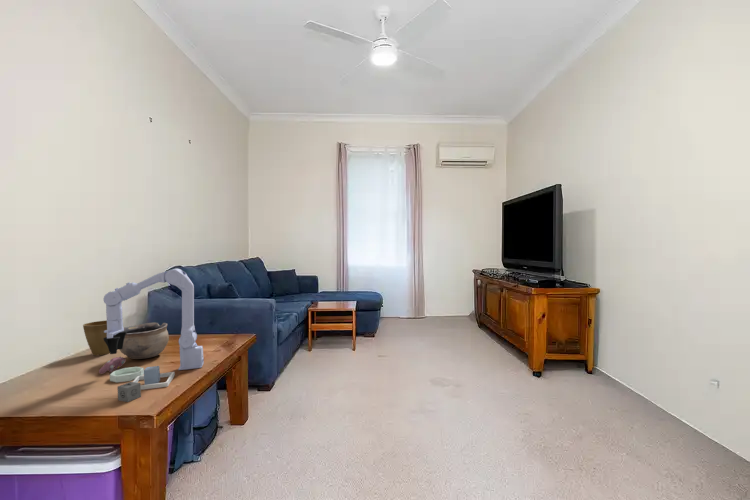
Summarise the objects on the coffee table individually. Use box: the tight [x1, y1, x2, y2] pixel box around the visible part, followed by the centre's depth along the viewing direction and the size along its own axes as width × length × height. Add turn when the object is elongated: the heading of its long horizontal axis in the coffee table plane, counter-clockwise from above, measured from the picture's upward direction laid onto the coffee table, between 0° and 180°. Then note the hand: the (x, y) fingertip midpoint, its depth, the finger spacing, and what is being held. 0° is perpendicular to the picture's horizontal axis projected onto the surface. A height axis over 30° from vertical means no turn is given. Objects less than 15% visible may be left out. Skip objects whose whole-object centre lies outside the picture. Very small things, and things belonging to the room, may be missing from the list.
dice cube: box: [117, 381, 142, 403], centre depth 144 cm, size 5×5×5 cm
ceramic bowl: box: [118, 322, 170, 360], centre depth 197 cm, size 22×22×15 cm
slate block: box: [143, 365, 161, 385], centre depth 160 cm, size 4×4×6 cm
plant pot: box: [82, 319, 110, 357], centre depth 207 cm, size 15×15×16 cm
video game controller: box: [98, 356, 127, 375], centre depth 178 cm, size 10×5×7 cm, turn 169°
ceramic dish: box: [109, 366, 145, 383], centre depth 168 cm, size 11×11×2 cm
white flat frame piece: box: [132, 371, 176, 391], centre depth 160 cm, size 14×14×2 cm
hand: (116, 351), depth 171 cm, fingers open, 7 cm apart
